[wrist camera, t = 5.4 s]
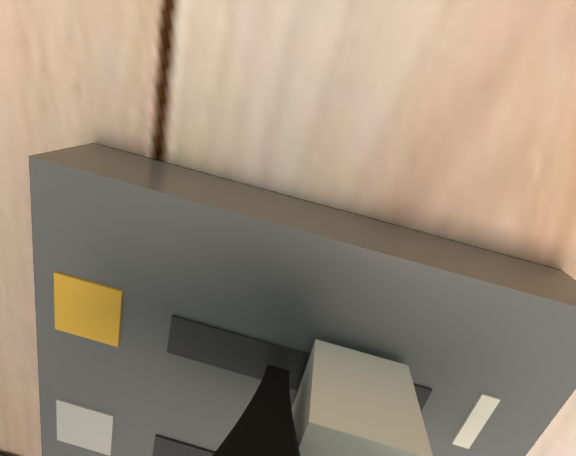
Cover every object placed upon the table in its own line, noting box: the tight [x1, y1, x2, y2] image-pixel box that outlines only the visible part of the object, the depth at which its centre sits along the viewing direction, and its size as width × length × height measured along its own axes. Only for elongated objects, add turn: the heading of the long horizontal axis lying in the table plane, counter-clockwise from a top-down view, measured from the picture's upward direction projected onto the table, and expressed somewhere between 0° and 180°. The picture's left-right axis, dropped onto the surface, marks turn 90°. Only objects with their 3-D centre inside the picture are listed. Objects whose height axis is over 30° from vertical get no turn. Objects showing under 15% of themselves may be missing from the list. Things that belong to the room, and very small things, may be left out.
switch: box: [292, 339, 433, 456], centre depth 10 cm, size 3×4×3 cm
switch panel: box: [29, 143, 576, 456], centre depth 16 cm, size 18×22×3 cm
